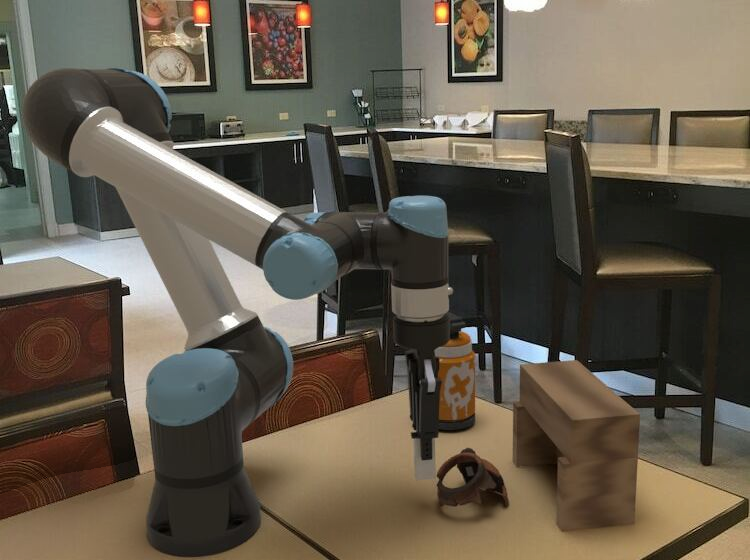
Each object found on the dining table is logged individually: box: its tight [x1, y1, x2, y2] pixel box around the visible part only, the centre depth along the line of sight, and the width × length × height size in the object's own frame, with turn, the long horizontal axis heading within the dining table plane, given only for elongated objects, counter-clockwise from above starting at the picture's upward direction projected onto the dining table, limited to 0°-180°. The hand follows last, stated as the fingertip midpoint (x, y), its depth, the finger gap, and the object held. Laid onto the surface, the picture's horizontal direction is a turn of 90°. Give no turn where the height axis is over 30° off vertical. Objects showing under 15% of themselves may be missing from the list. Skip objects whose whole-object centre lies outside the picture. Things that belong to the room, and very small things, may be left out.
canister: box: [434, 311, 476, 431], centre depth 137 cm, size 9×11×20 cm
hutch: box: [512, 359, 641, 533], centre depth 112 cm, size 10×21×16 cm, turn 8°
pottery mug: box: [436, 447, 510, 508], centre depth 112 cm, size 12×9×8 cm
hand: (425, 476), depth 110 cm, fingers closed
